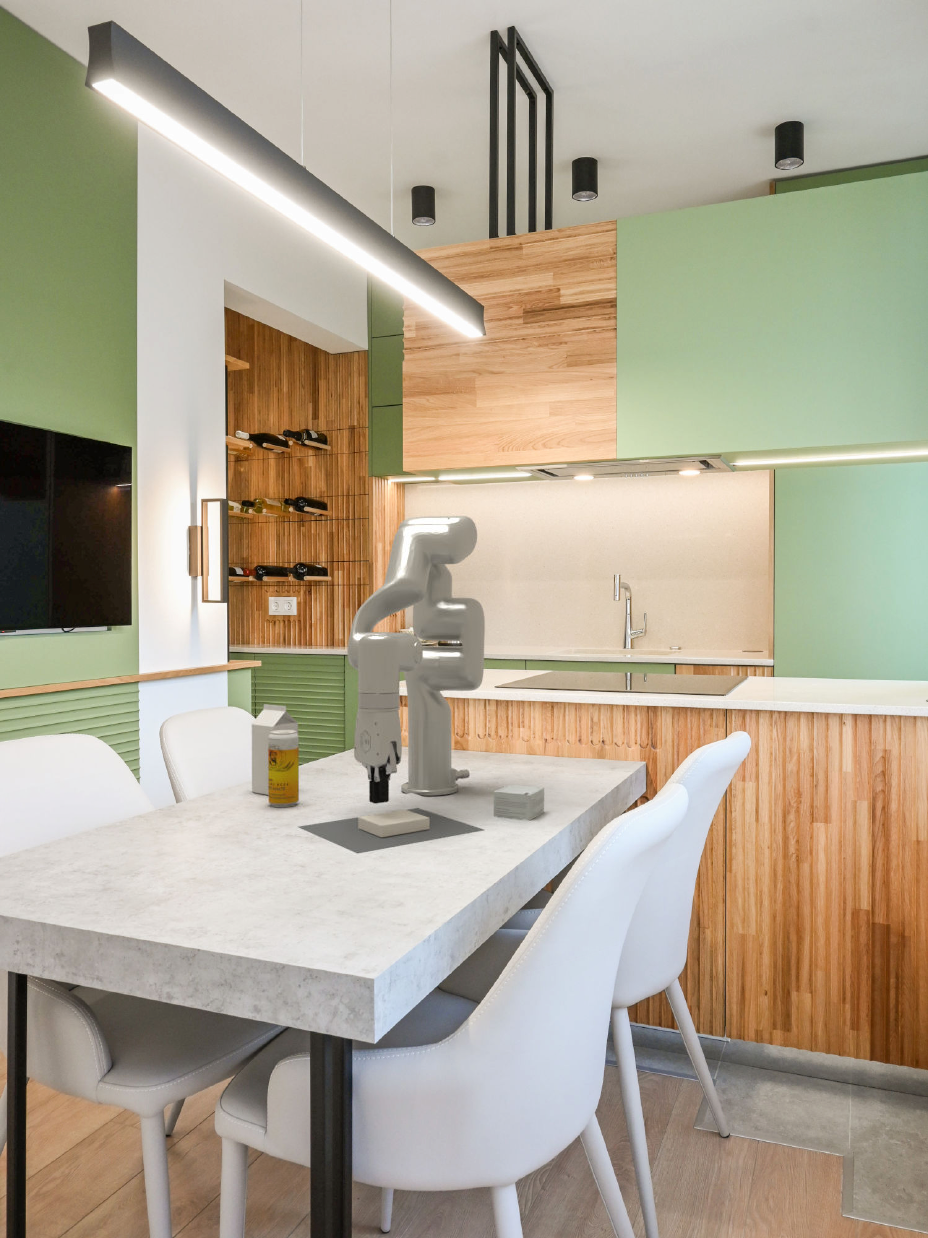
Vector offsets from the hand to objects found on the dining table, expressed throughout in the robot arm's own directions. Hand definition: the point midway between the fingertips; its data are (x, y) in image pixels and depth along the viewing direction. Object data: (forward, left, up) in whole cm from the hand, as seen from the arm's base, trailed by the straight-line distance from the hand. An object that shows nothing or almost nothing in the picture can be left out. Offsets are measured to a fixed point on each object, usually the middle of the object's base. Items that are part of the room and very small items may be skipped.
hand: (379, 801), depth 167 cm
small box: (-28, +7, -5) cm, 29 cm away
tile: (0, +1, -3) cm, 3 cm away
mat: (0, +4, -5) cm, 6 cm away
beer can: (+6, -28, -5) cm, 29 cm away
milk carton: (+2, -41, -5) cm, 41 cm away
